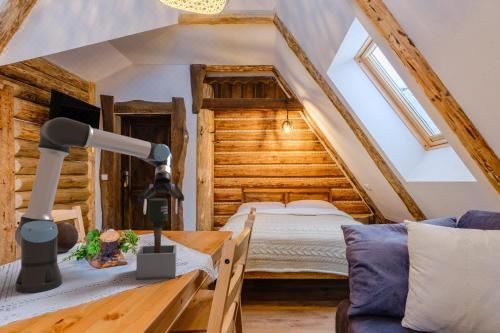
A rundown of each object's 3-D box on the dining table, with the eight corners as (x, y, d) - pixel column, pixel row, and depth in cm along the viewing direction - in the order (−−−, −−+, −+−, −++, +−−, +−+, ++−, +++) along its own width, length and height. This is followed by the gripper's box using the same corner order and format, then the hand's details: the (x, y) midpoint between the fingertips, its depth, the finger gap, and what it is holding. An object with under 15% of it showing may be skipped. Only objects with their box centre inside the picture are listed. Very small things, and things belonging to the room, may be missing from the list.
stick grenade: (162, 274, 145) (163, 200, 145) (142, 273, 147) (143, 199, 147) (171, 268, 153) (171, 198, 153) (152, 267, 155) (153, 198, 155)
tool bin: (136, 280, 141) (136, 254, 141) (141, 269, 156) (141, 246, 156) (175, 278, 144) (175, 253, 144) (176, 267, 159) (176, 244, 159)
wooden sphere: (83, 248, 192) (83, 220, 192) (68, 255, 177) (69, 225, 177) (56, 248, 193) (56, 220, 193) (39, 255, 178) (39, 225, 178)
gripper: (189, 182, 177) (189, 216, 162) (136, 182, 173) (131, 217, 158) (189, 171, 172) (189, 206, 157) (135, 171, 167) (129, 207, 153)
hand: (160, 212), depth 157 cm, fingers open, 13 cm apart
